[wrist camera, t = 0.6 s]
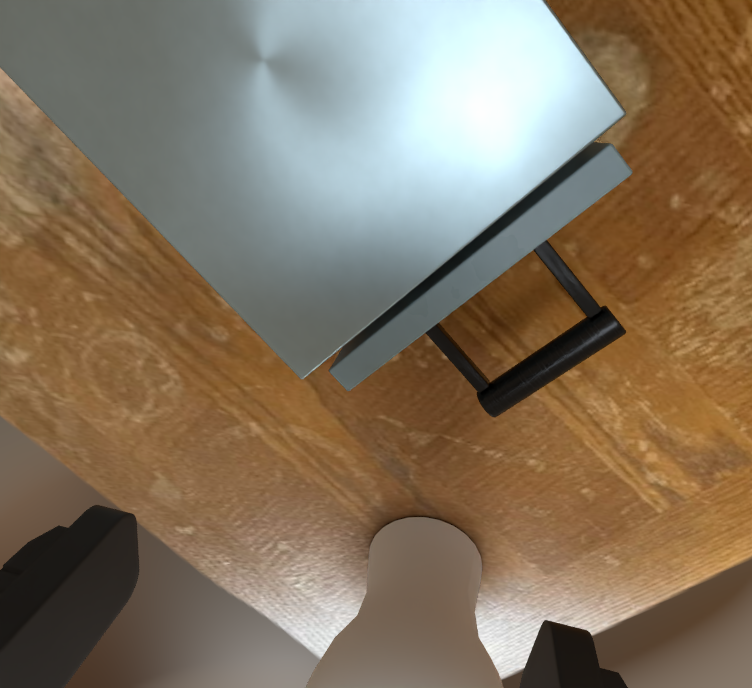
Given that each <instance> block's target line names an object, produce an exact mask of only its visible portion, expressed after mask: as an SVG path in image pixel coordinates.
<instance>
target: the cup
mask: <svg viewBox="0 0 752 688" xmlns="http://www.w3.org/2000/svg"><path fill="white" fill-rule="evenodd" d="M481 575H482V562H481V556H480V554H479V552H478V550H477V548H476V545H475V544H474V543H473V542H472V541H471V540H470V538H469V537H468V536H467V535H466V534H465V533H463V532H462V531H460V530H459V529H457V528H456V527H455V526H453V525H450V524H448V523H445V522H443V521H441V520H437V519H432V518H426V517H408V518H404V519H400V520H397V521H394V522H392V523H390V524H388V525H386V526H385V527H383V528H382V529H381V530H380V531H379V532H378V533H377V534H376V535H375V537H374V539H373V541H372V543H371V545H370V550H369V559H368V569H367V593H366V595H365V598H364V600H363V603H362V605H361V608H360V610H359V613H358V615H357V616H356V617H355V618H354V619H353V620H352V621H351V622H350V623H349V624H348V625H347V626H346V627H345V628H344V629H343V630H342V631H341V632H340V633H339V634H338V635H337V636H336V637H335V638H334V640H333V641H332V643H331V645H330V646H329V648H328V649H327V651H326V652H325V654H324V655H323V657H322V659H321V660H320V662H319V663H318V665H317V667H316V668H315V670H314V672H313V673H312V675H311V678H310V679H309V682H308V684H307V686H306V688H503V685H502V682H501V679H500V676H499V673H498V671H497V669H496V668H495V666H494V664H493V662H492V660H491V658H490V656H489V654H488V653H487V651H486V649H485V647H484V646H483V644H482V642H481V641H480V639H479V637H478V630H477V624H476V618H475V608H476V603H477V598H478V593H479V588H480V583H481Z"/></svg>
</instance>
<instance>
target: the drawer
mask: <svg viewBox="0 0 752 688" xmlns="http://www.w3.org/2000/svg"><path fill="white" fill-rule="evenodd" d="M631 174H632V170H631V169H630V167H629V166H628V165H627V163H626V162H625V160H624V159H623V158H622V156H621V155H620V154H619V152H618V151H617V150H616V148H615V147H614V146H613V144H610V143H598V142H593V143H591V144H590V145H589V146H588V147H586V148H585V149H584V150H583V151H582V152H580V153H579V154H578V155H577V156H575V157H574V158H573V159H572V160H571V161H569V162H568V163H567V164H566V165H564V166H563V167H562V168H561V169H560V170H558V171H557V172H556V173H555V174H553V175H552V176H551V177H550V178H549V179H547V180H546V181H545V182H544V183H542V184H541V185H540V186H539V187H538V188H536V189H535V190H534V191H533V192H531V193H530V194H529V195H528V196H527V197H525V198H524V199H523V200H522V201H520V202H519V203H518V204H517V205H516V206H514V207H513V208H512V209H511V210H509V211H508V212H507V213H506V214H505V215H503V216H502V217H501V218H500V219H498V220H497V221H496V222H495V223H494V224H492V225H491V226H490V227H489V228H487V229H486V230H485V231H484V232H483V233H481V234H480V235H479V236H478V237H476V238H475V239H474V240H473V241H472V242H470V243H469V244H468V245H467V246H465V247H464V248H463V249H462V250H461V251H459V252H458V253H457V254H456V255H454V256H453V257H452V258H451V259H449V260H448V261H447V262H446V263H445V264H443V265H442V266H441V267H440V268H438V269H437V270H436V271H435V272H434V273H432V274H431V275H430V276H429V277H427V278H426V279H425V280H424V281H423V282H421V283H420V284H419V285H418V286H416V287H415V288H414V289H413V290H412V291H410V292H409V293H408V294H407V295H405V296H404V297H403V298H402V299H401V300H399V301H398V302H397V303H396V304H394V305H393V306H392V307H391V308H390V309H388V310H387V311H386V312H385V313H383V314H382V315H381V316H380V317H379V318H377V319H376V320H375V321H374V322H372V323H371V324H370V325H369V326H368V327H366V328H365V329H364V330H363V331H361V332H360V333H359V334H358V335H357V336H355V337H354V338H353V339H352V340H350V341H349V342H348V343H347V344H346V345H344V346H343V348H342V350H341V351H340V353H339V354H338V356H337V358H336V359H335V361H334V363H333V364H332V366H331V368H330V369H329V372H330V373H331V374H332V375H333V376H334V377H335V378H336V379H337V380H338V382H339V383H340V384H341V385H342V386H343V387H344V388H345V389H346V390H347V391H350V390H351V389H353V388H354V387H355V386H356V385H358V384H359V383H360V382H362V381H363V380H364V379H366V378H367V377H368V376H369V375H371V374H372V373H373V372H375V371H376V370H377V369H379V368H380V367H381V366H383V365H384V364H385V363H386V362H388V361H389V360H390V359H392V358H393V357H394V356H396V355H397V354H398V353H399V352H401V351H402V350H403V349H405V348H406V347H407V346H409V345H410V344H411V343H412V342H414V341H415V340H416V339H418V338H419V337H420V336H422V335H423V334H424V333H426V334H427V335H428V336H429V337H430V338H431V339H432V341H433V342H434V343H435V344H436V345H437V346H438V347H439V349H440V350H441V351H442V352H443V353H444V354H445V355H446V356H447V358H448V359H449V360H450V361H451V362H452V363H453V364H454V365H455V367H456V368H457V369H458V370H459V371H460V372H461V373H462V374H463V376H464V377H465V378H466V379H467V380H468V381H469V382H470V383H471V385H472V386H473V387H474V388H475V389H476V390H477V391H478V392H477V397H478V400H479V402H480V404H481V405H482V407H483V408H484V410H485V411H486V412H487V413H488V414H489V415H490V416H492V417H497V416H499V415H500V414H502V413H503V412H505V411H506V410H508V409H509V408H511V407H513V406H514V405H516V404H517V403H519V402H520V401H522V400H523V399H525V398H527V397H528V396H530V395H531V394H533V393H534V392H536V391H537V390H539V389H541V388H542V387H544V386H545V385H547V384H548V383H550V382H551V381H553V380H555V379H556V378H558V377H559V376H561V375H562V374H564V373H565V372H567V371H568V370H570V369H572V368H573V367H575V366H576V365H578V364H579V363H581V362H582V361H584V360H586V359H587V358H589V357H590V356H592V355H593V354H595V353H596V352H598V351H600V350H601V349H603V348H604V347H606V346H607V345H609V344H610V343H612V342H614V341H615V340H617V339H618V338H620V337H621V336H623V335H624V334H625V333H626V330H625V329H624V328H623V326H622V325H621V324H620V323H619V321H618V320H617V319H616V318H615V316H614V315H613V314H612V313H611V311H610V310H609V309H608V308H607V306H602V307H600V306H599V305H598V304H597V302H596V301H595V300H594V299H593V297H592V296H591V295H590V294H589V292H588V291H587V290H586V289H585V287H584V286H583V285H582V284H581V282H580V281H579V280H578V279H577V277H576V276H575V275H574V274H573V272H572V271H571V270H570V268H569V267H568V266H567V265H566V263H565V262H564V261H563V260H562V258H561V257H560V256H559V255H558V253H557V252H556V251H555V250H554V248H553V247H552V246H551V245H550V243H549V242H548V241H547V239H548V238H549V237H551V236H552V235H553V234H555V233H556V232H557V231H558V230H560V229H561V228H562V227H564V226H565V225H566V224H568V223H569V222H570V221H571V220H573V219H574V218H575V217H577V216H578V215H579V214H581V213H582V212H583V211H585V210H586V209H587V208H588V207H590V206H591V205H592V204H594V203H595V202H596V201H598V200H599V199H600V198H601V197H603V196H604V195H605V194H607V193H608V192H609V191H611V190H612V189H613V188H615V187H616V186H617V185H618V184H620V183H621V182H622V181H624V180H625V179H626V178H628V177H629V176H630V175H631ZM532 250H534V251H535V253H536V254H537V255H538V256H539V258H540V259H541V260H542V261H543V263H544V264H545V265H546V266H547V268H548V269H549V270H550V271H551V272H552V274H553V275H554V276H555V277H556V279H557V280H558V281H559V282H560V284H561V285H562V286H563V287H564V289H565V290H566V291H567V292H568V294H569V295H570V296H571V297H572V298H573V300H574V301H575V302H576V303H577V305H578V306H579V307H580V308H581V310H582V311H583V312H584V313H585V315H586V316H587V317H586V318H585V319H583V320H582V321H580V322H579V323H577V324H576V325H574V326H573V327H571V328H570V329H568V330H567V331H565V332H564V333H562V334H561V335H560V336H558V337H557V338H555V339H554V340H552V341H551V342H549V343H548V344H546V345H545V346H543V347H542V348H540V349H539V350H537V351H536V352H534V353H533V354H531V355H530V356H529V357H527V358H526V359H524V360H523V361H521V362H520V363H518V364H517V365H515V366H514V367H512V368H511V369H509V370H508V371H506V372H505V373H503V374H502V375H501V376H499V377H498V378H496V379H495V380H493V381H492V382H490V381H489V380H488V378H487V377H486V376H485V375H484V374H483V373H482V372H481V370H480V369H479V368H478V367H477V366H476V365H475V364H474V362H473V361H472V360H471V359H470V358H469V357H468V356H467V355H466V353H465V352H464V351H463V350H462V349H461V348H460V347H459V345H458V344H457V343H456V342H455V341H454V340H453V339H452V337H451V336H450V335H449V334H448V333H447V332H446V331H445V329H444V328H443V327H442V326H441V325H440V324H439V322H440V321H441V320H442V319H444V318H445V317H446V316H448V315H449V314H450V313H452V312H453V311H454V310H455V309H457V308H458V307H459V306H461V305H462V304H463V303H465V302H466V301H467V300H469V299H470V298H471V297H472V296H474V295H475V294H476V293H478V292H479V291H480V290H482V289H483V288H484V287H485V286H487V285H488V284H489V283H491V282H492V281H493V280H495V279H496V278H497V277H499V276H500V275H501V274H502V273H504V272H505V271H506V270H508V269H509V268H510V267H512V266H513V265H514V264H515V263H517V262H518V261H519V260H521V259H522V258H523V257H525V256H526V255H527V254H528V253H530V252H531V251H532Z"/></svg>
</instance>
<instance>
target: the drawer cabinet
mask: <svg viewBox="0 0 752 688" xmlns="http://www.w3.org/2000/svg"><path fill="white" fill-rule="evenodd" d="M0 68H1V69H2V70H3V71H4V72H5V73H6V74H7V75H8V76H9V77H10V78H11V79H12V80H13V81H14V82H15V83H16V84H17V85H18V86H19V87H20V88H21V89H22V90H23V91H24V92H25V93H26V94H27V96H28V97H29V98H30V99H31V100H32V101H33V102H34V103H35V104H36V105H37V106H38V107H39V108H40V109H41V110H42V111H43V112H44V113H45V114H46V115H47V116H48V117H49V118H50V119H51V120H52V121H53V122H54V124H55V125H56V126H57V127H58V128H59V129H60V130H61V131H62V132H63V133H64V134H65V135H66V136H67V137H68V138H69V139H70V140H71V141H72V142H73V143H74V144H75V145H76V146H77V147H78V148H79V149H80V150H81V152H82V153H83V154H84V155H85V156H86V157H87V158H88V159H89V160H90V161H91V162H92V163H93V164H94V165H95V166H96V167H97V168H98V169H99V170H100V171H101V172H102V173H103V174H104V175H105V176H106V177H107V178H108V180H109V181H110V182H111V183H112V184H113V185H114V186H115V187H116V188H117V189H118V190H119V191H120V192H121V193H122V194H123V195H124V196H125V197H126V198H127V199H128V200H129V201H130V202H131V203H132V204H133V205H134V206H135V207H136V209H137V210H138V211H139V212H140V213H141V214H142V215H143V216H144V217H145V218H146V219H147V220H148V221H149V222H150V223H151V224H152V225H153V226H154V227H155V228H156V229H157V230H158V231H159V232H160V233H161V234H162V235H163V237H164V238H165V239H166V240H167V241H168V242H169V243H170V244H171V245H172V246H173V247H174V248H175V249H176V250H177V251H178V252H179V253H180V254H181V255H182V256H183V257H184V258H185V259H186V260H187V261H188V262H189V263H190V265H191V266H192V267H193V268H194V269H195V270H196V271H197V272H198V273H199V274H200V275H201V276H202V277H203V278H204V279H205V280H206V281H207V282H208V283H209V284H210V285H211V286H212V287H213V288H214V289H215V290H216V291H217V293H218V294H219V295H220V296H221V297H222V298H223V299H224V300H225V301H226V302H227V303H228V304H229V305H230V306H231V307H232V308H233V309H234V310H235V311H236V312H237V313H238V314H239V315H240V316H241V317H242V318H243V319H244V321H245V322H246V323H247V324H248V325H249V326H250V327H251V328H252V329H253V330H254V331H255V332H256V333H257V334H258V335H259V336H260V337H261V338H262V339H263V340H264V341H265V342H266V343H267V344H268V345H269V346H270V347H271V349H272V350H273V351H274V352H275V353H276V354H277V355H278V356H279V357H280V358H281V359H282V360H283V361H284V362H285V363H286V364H287V365H288V366H289V367H290V368H291V369H292V370H293V371H294V372H295V373H296V374H297V375H298V377H299V378H300V379H304V378H305V377H306V376H308V375H309V374H310V373H311V372H313V371H314V370H315V369H316V368H317V367H319V366H320V365H321V364H322V363H324V362H325V361H326V360H327V359H328V358H330V357H331V356H332V355H333V354H335V353H336V352H337V351H338V350H339V349H341V348H342V347H343V346H344V345H346V344H347V343H348V342H349V341H350V340H352V339H353V338H354V337H355V336H357V335H358V334H359V333H360V332H361V331H363V330H364V329H365V328H366V327H368V326H369V325H370V324H371V323H372V322H374V321H375V320H376V319H377V318H379V317H380V316H381V315H382V314H383V313H385V312H386V311H387V310H388V309H390V308H391V307H392V306H393V305H394V304H396V303H397V302H398V301H399V300H401V299H402V298H403V297H404V296H405V295H407V294H408V293H409V292H410V291H412V290H413V289H414V288H415V287H416V286H418V285H419V284H420V283H421V282H423V281H424V280H425V279H426V278H427V277H429V276H430V275H431V274H432V273H434V272H435V271H436V270H437V269H438V268H440V267H441V266H442V265H443V264H445V263H446V262H447V261H448V260H449V259H451V258H452V257H453V256H454V255H456V254H457V253H458V252H459V251H461V250H462V249H463V248H464V247H465V246H467V245H468V244H469V243H470V242H472V241H473V240H474V239H475V238H476V237H478V236H479V235H480V234H481V233H483V232H484V231H485V230H486V229H487V228H489V227H490V226H491V225H492V224H494V223H495V222H496V221H497V220H498V219H500V218H501V217H502V216H503V215H505V214H506V213H507V212H508V211H509V210H511V209H512V208H513V207H514V206H516V205H517V204H518V203H519V202H520V201H522V200H523V199H524V198H525V197H527V196H528V195H529V194H530V193H531V192H533V191H534V190H535V189H536V188H538V187H539V186H540V185H541V184H542V183H544V182H545V181H546V180H547V179H549V178H550V177H551V176H552V175H553V174H555V173H556V172H557V171H558V170H560V169H561V168H562V167H563V166H564V165H566V164H567V163H568V162H569V161H571V160H572V159H573V158H574V157H575V156H577V155H578V154H579V153H580V152H582V151H583V150H584V149H585V148H586V147H588V146H589V145H590V144H591V143H593V142H594V141H595V140H596V139H597V138H599V137H600V136H601V135H602V134H604V133H605V132H606V131H607V130H608V129H610V128H611V127H612V126H613V125H615V124H616V123H617V122H618V121H619V120H621V119H622V118H623V117H624V116H625V115H626V111H625V109H624V108H623V107H622V105H621V104H620V103H619V101H618V100H617V98H616V97H615V96H614V94H613V93H612V91H611V90H610V89H609V87H608V86H607V85H606V83H605V82H604V80H603V79H602V78H601V76H600V75H599V73H598V72H597V71H596V69H595V68H594V67H593V65H592V64H591V62H590V61H589V60H588V58H587V57H586V56H585V54H584V53H583V51H582V50H581V49H580V47H579V46H578V44H577V43H576V42H575V40H574V39H573V38H572V36H571V35H570V33H569V32H568V31H567V29H566V28H565V26H564V25H563V24H562V22H561V21H560V20H559V18H558V17H557V15H556V14H555V13H554V11H553V10H552V9H551V7H550V6H549V4H548V3H547V2H546V0H0Z"/></svg>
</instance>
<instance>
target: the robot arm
mask: <svg viewBox="0 0 752 688" xmlns="http://www.w3.org/2000/svg"><path fill="white" fill-rule="evenodd" d="M138 557H139V556H138V538H137V521H136V517H135V516H134V515H133V514H131V513H127V512H123V511H120V510H116V509H111V508H107V507H104V506H100V505H95V506H92V507H90V508H89V509H88V510H86V511H85V512H84V513H83V514H82V515H81V516H80V517H79V518H78V519H77V520H76V521H75V522H74V523H73V524H72V525H71V526H70V527H69V528H66V527H62V526H57V527H55V528H54V529H52V530H50V531H48V532H46V533H44V534H43V535H41V536H39V537H37V538H35V539H33V540H31V541H30V542H28V543H27V544H26V545H25V546H24V547H22V548H21V549H20V550H19V551H18V552H17V553H16V554H15V555H14V556H13V557H12V558H10V559H9V560H8V561H7V562H6V563H5V564H4V565H3V568H2V569H1V570H0V688H64V687H65V686H66V684H67V683H68V682H69V680H70V679H71V678H72V676H73V675H74V674H75V672H76V671H77V670H78V668H79V667H80V665H81V664H82V663H83V661H84V660H85V659H86V657H87V656H88V655H89V653H90V652H91V651H92V649H93V648H94V646H95V645H96V644H97V642H98V641H99V640H100V638H101V637H102V635H103V634H104V633H105V632H106V630H107V629H108V628H109V626H110V625H111V623H112V622H113V621H114V619H115V618H116V617H117V615H118V614H119V613H120V611H121V610H122V609H123V607H124V606H125V605H126V603H127V602H128V600H129V598H130V597H131V595H132V593H133V590H134V588H135V586H136V583H137V579H138V575H139V558H138ZM520 688H628V687H627V686H626V684H625V683H624V681H623V679H622V678H621V676H620V675H619V673H617V672H613V671H610V670H606V669H602V668H600V667H599V663H598V659H597V654H596V650H595V646H594V642H593V638H592V636H591V634H590V632H588V631H587V630H583V629H579V628H575V627H571V626H567V625H564V624H560V623H556V622H552V621H548V620H545V621H544V622H543V623H542V625H541V628H540V630H539V633H538V635H537V638H536V640H535V643H534V645H533V648H532V651H531V653H530V656H529V658H528V661H527V663H526V666H525V668H524V671H523V674H522V678H521V683H520Z"/></svg>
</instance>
